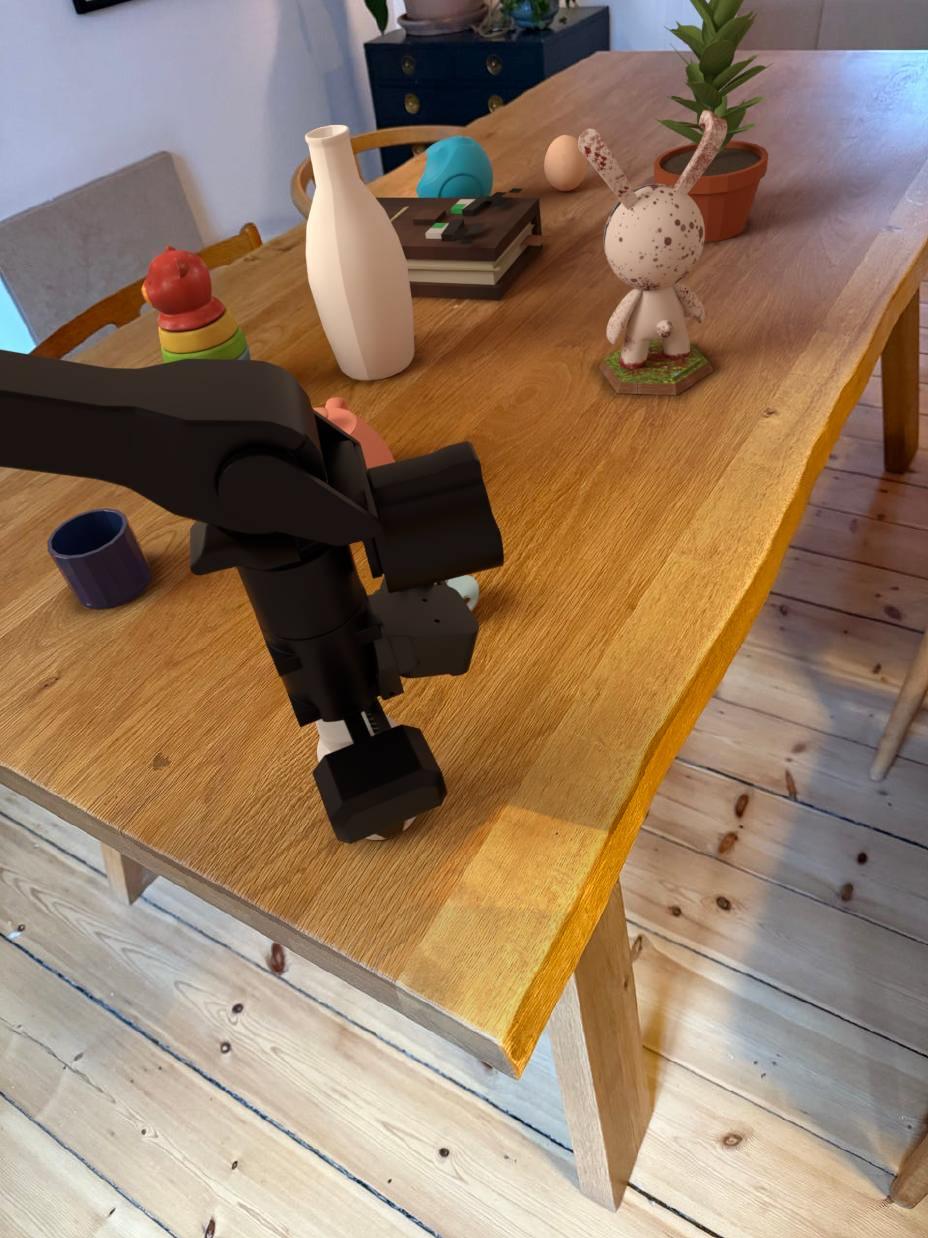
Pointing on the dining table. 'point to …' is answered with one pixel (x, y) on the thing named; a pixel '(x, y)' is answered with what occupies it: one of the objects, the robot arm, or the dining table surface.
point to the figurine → (654, 269)
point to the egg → (565, 163)
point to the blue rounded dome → (456, 170)
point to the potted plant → (736, 163)
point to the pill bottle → (337, 738)
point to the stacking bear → (191, 310)
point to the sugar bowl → (357, 432)
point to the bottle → (356, 265)
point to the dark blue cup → (100, 558)
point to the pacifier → (466, 589)
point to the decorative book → (466, 243)
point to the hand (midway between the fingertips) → (371, 779)
